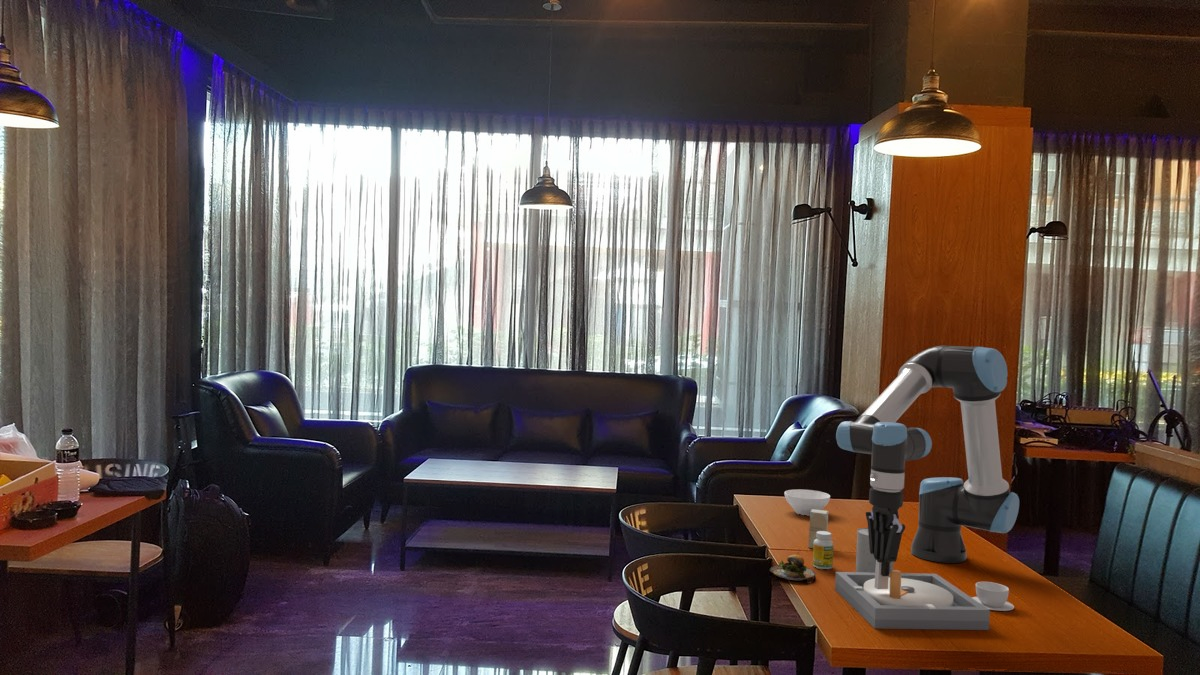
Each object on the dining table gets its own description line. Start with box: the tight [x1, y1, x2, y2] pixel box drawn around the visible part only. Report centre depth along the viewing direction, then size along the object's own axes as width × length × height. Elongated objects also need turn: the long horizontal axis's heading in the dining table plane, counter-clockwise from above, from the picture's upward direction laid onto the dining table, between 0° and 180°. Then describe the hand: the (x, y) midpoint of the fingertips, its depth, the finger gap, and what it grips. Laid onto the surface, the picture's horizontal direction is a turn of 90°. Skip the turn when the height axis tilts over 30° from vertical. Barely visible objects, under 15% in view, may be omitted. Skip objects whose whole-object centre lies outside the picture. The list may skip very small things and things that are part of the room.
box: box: [807, 509, 829, 549], centre depth 243 cm, size 5×4×11 cm
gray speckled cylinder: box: [855, 527, 894, 573], centre depth 215 cm, size 10×10×12 cm
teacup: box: [971, 581, 1015, 612], centre depth 197 cm, size 10×10×5 cm
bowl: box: [783, 488, 831, 517], centre depth 288 cm, size 16×16×7 cm
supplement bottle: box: [812, 531, 834, 570], centre depth 223 cm, size 5×5×10 cm
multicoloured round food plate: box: [769, 550, 817, 584], centre depth 214 cm, size 12×12×8 cm
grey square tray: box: [834, 571, 991, 631], centre depth 192 cm, size 26×26×5 cm
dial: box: [864, 569, 953, 606], centre depth 192 cm, size 20×20×8 cm
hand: (881, 588), depth 189 cm, fingers closed
